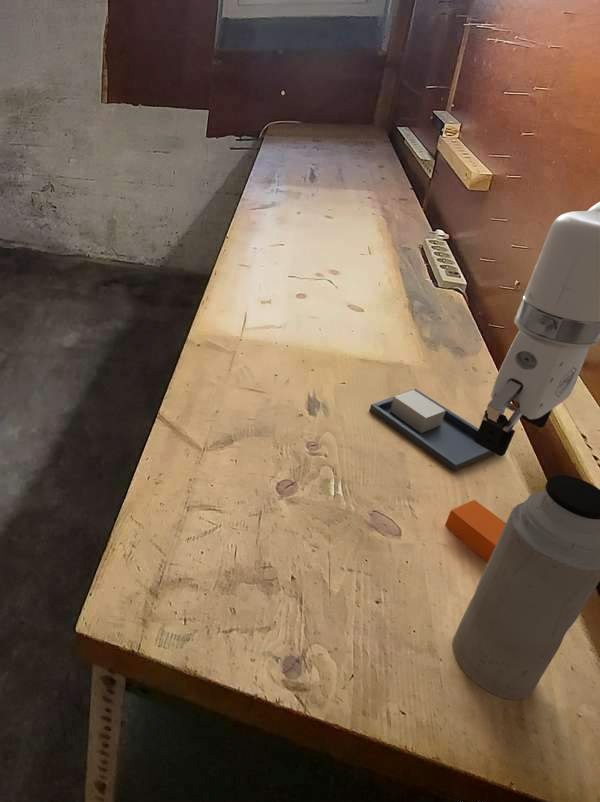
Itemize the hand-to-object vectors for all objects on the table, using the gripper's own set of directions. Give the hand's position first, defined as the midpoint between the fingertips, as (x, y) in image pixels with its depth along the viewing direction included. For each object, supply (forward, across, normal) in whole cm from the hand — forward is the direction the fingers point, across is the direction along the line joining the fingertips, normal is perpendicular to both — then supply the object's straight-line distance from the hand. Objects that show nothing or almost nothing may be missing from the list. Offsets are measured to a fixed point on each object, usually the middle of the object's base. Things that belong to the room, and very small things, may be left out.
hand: (509, 434), depth 72 cm
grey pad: (+20, +20, +19) cm, 34 cm away
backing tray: (+21, +19, +15) cm, 32 cm away
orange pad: (+21, +3, -1) cm, 21 cm away
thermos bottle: (+21, -14, -11) cm, 27 cm away
